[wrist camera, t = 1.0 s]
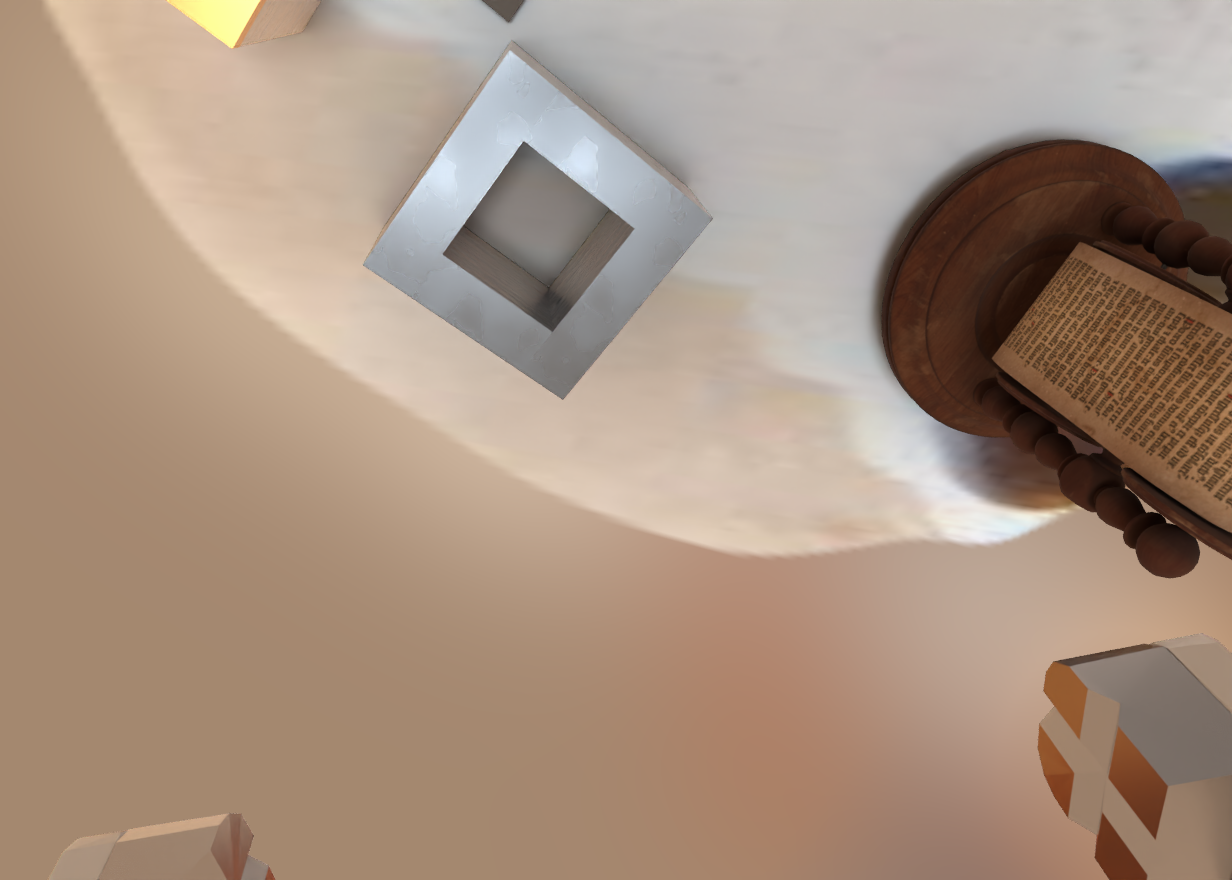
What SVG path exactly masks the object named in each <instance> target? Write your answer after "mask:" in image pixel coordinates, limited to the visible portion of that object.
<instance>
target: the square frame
mask: <svg viewBox="0 0 1232 880" xmlns="http://www.w3.org/2000/svg"><path fill="white" fill-rule="evenodd" d="M523 141H524V142H526V143H527V144H528V145H529V146H531V147H532V148H533V149H535V150H536V151H537V152H538V153H540V154H541V155H542V156H543V157H545V158H546V159H547V160H548V161H550V162H551V163H552V164H554V165H555V166H556V167H557V168H559V169H560V170H561V171H562V172H564V173H565V174H566V175H567V176H569V177H570V178H571V179H573V180H574V181H575V182H576V183H578V184H579V185H580V186H581V187H583V188H584V189H585V190H586V191H588V192H589V193H590V194H592V195H593V196H594V197H595V198H597V199H598V200H599V201H600V202H602V203H603V204H604V205H605V206H607V207H608V208H609V209H610V210H609V211H608V213H607V214H606V215H605V216H604V218H603V219H602V220H601V222H600V223H599V224H598V225H597V227H596V228H595V229H594V231H593V232H592V233H591V234H590V236H589V237H588V238H587V240H586V241H585V242H584V243H583V245H582V246H581V247H580V249H579V250H578V251H577V252H576V254H575V255H574V256H573V258H572V259H571V260H570V261H569V263H568V264H567V265H566V267H565V268H564V269H563V270H562V272H561V273H560V274H559V276H558V277H557V278H556V279H555V281H554V282H553V283H552V285H551V286H550V287H549V288H548V287H547V286H545V285H544V284H543V283H541V282H540V281H538V280H537V279H536V278H534V277H533V276H532V275H530V274H529V273H527V272H526V271H525V270H523V269H522V268H520V267H519V266H518V265H516V264H515V263H514V262H512V261H511V260H509V259H508V258H507V257H505V256H504V255H503V254H501V253H500V252H498V251H497V250H496V249H494V248H493V247H492V246H490V245H489V244H487V243H486V242H485V241H483V240H482V239H481V238H479V237H478V236H476V235H475V234H474V233H472V232H471V231H469V230H468V229H467V228H465V227H464V226H463V225H464V223H465V222H466V221H467V219H468V218H469V216H470V215H471V214H472V212H473V211H474V209H475V208H476V207H477V205H478V204H479V202H480V201H481V200H482V198H483V197H484V196H485V194H486V193H487V191H488V190H489V189H490V187H491V186H492V184H493V183H494V182H495V180H496V179H497V177H498V176H499V175H500V173H501V172H502V170H503V169H504V168H505V166H506V165H507V164H508V162H509V161H510V159H511V158H512V157H513V155H514V154H515V152H516V151H517V150H518V148H519V147H520V145H521V144H522V143H523ZM712 219H713V218H712V217H711V215H710V214H709V213H708V212H707V210H706V209H705V208H704V207H703V205H702V204H701V203H700V202H699V200H698V199H697V198H696V197H695V195H694V194H693V193H692V192H691V190H690V189H689V188H688V187H687V186H686V185H685V184H683V183H682V182H681V181H680V180H679V179H677V178H676V177H675V176H674V175H673V174H671V173H670V172H669V171H668V170H667V169H665V168H664V167H663V166H662V165H661V164H659V163H658V162H657V161H656V160H655V159H653V158H652V157H651V156H650V155H649V154H647V153H646V152H645V151H644V150H643V149H641V148H640V147H639V146H638V145H637V144H635V143H634V142H633V141H632V140H631V139H629V138H628V137H627V136H626V135H625V134H623V133H622V132H621V131H620V130H619V129H617V128H616V127H615V126H614V125H613V124H611V123H610V122H609V121H608V120H607V119H605V118H604V117H603V116H602V115H601V114H600V113H598V112H597V111H596V110H595V109H594V108H592V107H591V106H590V105H589V104H588V103H586V102H585V101H584V100H583V99H582V98H580V97H579V96H578V95H577V94H576V93H574V92H573V91H572V90H571V89H570V88H568V87H567V86H566V85H565V84H564V83H562V82H561V81H560V80H559V79H558V78H556V77H555V76H554V75H553V74H552V73H550V72H549V71H548V70H547V69H546V68H544V67H543V66H542V65H541V64H540V63H538V62H537V61H536V60H535V59H534V58H532V57H531V56H530V55H529V54H528V53H526V52H525V51H524V50H523V49H522V48H520V47H519V46H518V45H517V44H516V43H514V42H513V41H512V40H511V42H510V43H509V45H508V46H507V48H506V49H505V50H504V52H503V53H502V55H501V56H500V58H499V59H498V61H497V62H496V64H495V65H494V67H493V68H492V70H491V71H490V72H489V74H488V75H487V77H486V78H485V80H484V81H483V83H482V84H481V86H480V87H479V89H478V90H477V91H476V93H475V94H474V96H473V97H472V99H471V100H470V102H469V103H468V105H467V106H466V108H465V109H464V110H463V112H462V113H461V115H460V116H459V118H458V119H457V121H456V122H455V124H454V125H453V127H452V128H451V129H450V131H449V132H448V134H447V135H446V137H445V138H444V140H443V141H442V143H441V144H440V146H439V147H438V149H437V150H436V151H435V153H434V154H433V156H432V157H431V159H430V160H429V162H428V163H427V165H426V166H425V168H424V169H423V170H422V172H421V173H420V175H419V176H418V178H417V179H416V181H415V182H414V184H413V185H412V187H411V188H410V189H409V191H408V192H407V194H406V195H405V197H404V198H403V200H402V201H401V203H400V204H399V206H398V207H397V209H396V210H395V211H394V213H393V214H392V216H391V217H390V219H389V220H388V222H387V223H386V225H385V226H384V228H383V229H382V231H381V233H380V235H379V237H378V238H377V240H376V242H375V244H374V245H373V247H372V249H371V251H370V253H369V254H368V256H367V258H366V260H365V262H364V263H363V265H364V266H365V267H367V268H368V269H370V270H371V271H372V272H374V273H375V274H377V275H378V276H380V277H381V278H383V279H384V280H386V281H387V282H389V283H390V284H392V285H393V286H395V287H396V288H398V289H399V290H401V291H402V292H404V293H405V294H407V295H408V296H410V297H411V298H413V299H414V300H416V301H417V302H419V303H420V304H421V305H423V306H424V307H426V308H427V309H429V310H430V311H432V312H433V313H435V314H436V315H438V316H439V317H441V318H442V319H444V320H445V321H447V322H448V323H450V324H451V325H453V326H454V327H456V328H457V329H459V330H460V331H462V332H463V333H465V334H466V335H468V336H469V337H470V338H472V339H473V340H475V341H476V342H478V343H479V344H481V345H482V346H484V347H485V348H487V349H488V350H490V351H491V352H493V353H494V354H496V355H497V356H499V357H500V358H502V359H503V360H505V361H506V362H508V363H509V364H511V365H512V366H514V367H515V368H517V369H518V370H520V371H521V372H522V373H524V374H525V375H527V376H528V377H530V378H531V379H533V380H534V381H536V382H537V383H539V384H540V385H542V386H543V387H545V388H546V389H548V390H549V391H551V392H552V393H554V394H555V395H557V396H558V397H560V398H561V399H564V398H565V397H566V395H567V394H568V393H569V392H570V391H571V389H572V388H573V387H574V386H575V385H576V383H577V382H578V381H579V380H580V378H581V377H582V376H583V375H584V374H585V372H586V371H587V370H588V369H589V368H590V366H591V365H592V364H593V363H594V362H595V360H596V359H597V358H598V357H599V356H600V354H601V353H602V352H603V351H604V349H605V348H606V347H607V346H608V345H609V343H610V342H611V341H612V340H613V339H614V337H615V336H616V335H617V334H618V333H619V331H620V330H621V329H622V328H623V326H624V325H625V324H626V323H627V322H628V320H629V319H630V318H631V317H632V316H633V314H634V313H635V312H636V311H637V310H638V308H639V307H640V306H641V305H642V303H643V302H644V301H645V300H646V299H647V297H648V296H649V295H650V294H651V293H652V291H653V290H654V289H655V288H656V287H657V285H658V284H659V283H660V282H661V280H662V279H663V278H664V277H665V276H666V274H667V273H668V272H669V271H670V270H671V268H672V267H673V266H674V265H675V264H676V262H677V261H678V260H679V259H680V258H681V256H682V255H683V254H684V253H685V251H686V250H687V249H688V248H689V247H690V245H691V244H692V243H693V242H694V241H695V239H696V238H697V237H698V236H699V235H700V233H701V232H702V231H703V230H704V228H705V227H706V226H707V225H708V224H709V222H710V221H711V220H712Z"/></svg>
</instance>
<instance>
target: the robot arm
mask: <svg viewBox="0 0 1232 880" xmlns="http://www.w3.org/2000/svg"><path fill="white" fill-rule="evenodd" d="M1043 691H1044V692H1045V694H1046V695H1047V697H1048V698H1049V699H1050V701H1051V702H1052V703H1053V705H1054V707H1053V709H1052V710H1051V711H1050V712H1049V713H1048V714H1047V715H1046V716H1045V718H1044V719H1043V720H1042V721H1041V722H1040V723H1039V736H1038V751H1039V756H1040V760H1041V764H1042V768H1043V773H1044V776H1045V778H1046V780H1047V783H1048V785H1049V787H1050V789H1051V791H1052V793H1053V795H1054V797H1055V799H1056V800H1057V802H1058V803H1059V805H1060V806H1061V808H1062V810H1063V811H1064V813H1065V814H1066V816H1067V817H1068V818H1069V819H1070V820H1072V821H1074V822H1075V823H1077V824H1079V825H1081V826H1082V827H1084V828H1086V829H1088V830H1089V831H1091V832H1092V833H1094V834H1096V835H1097V838H1096V849H1095V859H1096V861H1097V862H1098V863H1099V865H1100V867H1101V868H1102V869H1103V871H1104V873H1105V874H1106V875H1107V877H1108V879H1109V880H1232V653H1231V652H1230V651H1229V650H1228V649H1227V648H1226V647H1225V646H1223V645H1222V644H1221V643H1220V642H1219V641H1218V640H1216V639H1214V638H1212V637H1210V636H1207V635H1205V634H1203V633H1201V634H1196V635H1190V636H1185V637H1180V638H1175V639H1169V640H1164V641H1159V642H1153V643H1151V644H1149V645H1148V644H1141V645H1136V646H1131V647H1126V648H1121V649H1115V650H1110V651H1105V652H1100V653H1095V654H1090V655H1085V656H1080V657H1075V658H1069V659H1064V660H1059V661H1054V662H1053V663H1052V664H1051V666H1050V667H1049V668H1048V670H1047V671H1046V675H1045V683H1044V690H1043ZM253 837H254V835H253V833H252V832H251V830H250V828H249V826H248V825H247V823H246V821H245V820H244V818H243V816H242V814H234V813H233V814H231V813H229V814H222V815H216V816H209V817H203V818H196V819H190V820H184V821H177V822H171V823H164V824H159V825H152V826H145V827H139V828H132V829H129V830H125V831H119V832H112V833H106V834H100V835H93V836H87V837H81V838H78V839H76V840H75V841H74V842H73V843H72V844H71V845H70V846H69V847H67V848H66V849H65V850H64V851H63V852H62V854H61V855H60V857H59V859H58V861H57V863H56V865H55V866H54V868H53V870H52V872H51V874H50V876H49V878H48V880H275V878H274V876H273V873H272V871H271V869H270V867H269V866H268V865H266V864H265V863H263V862H261V861H259V860H257V859H255V858H253V857H251V856H249V855H248V854H249V851H250V847H251V844H252V840H253Z"/></svg>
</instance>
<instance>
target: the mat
mask: <svg viewBox="0 0 1232 880" xmlns="http://www.w3.org/2000/svg"><path fill="white" fill-rule="evenodd" d="M483 1H484V2H485V3H486V4H487V5H489V6H490V7H491V8H492V9H493V10H495V11H496V12H497V13H498V14H499V15H501V16H502V17H503V18H504V19H505V20H506V21H508V22H509V21H510V20H511V18H512V17H513V15H514V14H515V12H516V11H517V9H518V8H519V6H520V5H521V3H522V2H523V0H483Z"/></svg>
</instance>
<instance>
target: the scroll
mask: <svg viewBox="0 0 1232 880" xmlns="http://www.w3.org/2000/svg"><path fill="white" fill-rule="evenodd" d="M1189 267H1190V268H1191V269H1192V270H1193V271H1194V272H1195V273H1198V274H1201V275H1204V276H1221V280H1222V282H1223V283H1224V284H1225V285H1226V287H1227V290H1226V291H1225V293H1226V295H1227V297H1228V299H1229V301H1228V302H1226V303H1224V304H1221V303H1220V302H1219V301H1217V300H1216V299H1215V298H1213V297H1211V296H1210V295H1208V294H1207V293H1205V292H1203V291H1202V290H1200V289H1198V288H1197V287H1195V286H1193V285H1191V284H1190V283H1188V282H1186V281H1187V274H1188V268H1189ZM882 337H883V343H884V347H885V351H886V355H887V358H888V361H889V364H890V366H891V369H892V371H893V373H894V375H895V377H896V379H897V380H898V382H899V383H900V385H901V386H902V388H903V389H904V390H905V391H906V392H907V394H908V395H909V396H910V397H911V398H912V399H913V400H914V401H915V402H916V403H917V404H918V405H919V406H920V407H921V408H922V409H923V410H924V411H925V412H926V413H927V414H929V415H930V416H932V417H933V418H934V419H936V420H937V421H939V422H941V423H943V424H945V425H946V426H948V427H951V428H953V429H956V430H958V431H961V432H965V433H968V434H972V435H978V436H984V437H1011V439H1012V441H1013V444H1014V445H1015V446H1016V447H1017V448H1018V449H1019V450H1021V451H1022V452H1024V453H1028V454H1035V455H1036V458H1037V460H1038V461H1039V462H1040V463H1041V464H1043V465H1044V466H1046V467H1048V468H1051V469H1054V470H1057V471H1058V473H1057V475H1058V478H1059V480H1060V482H1059V485H1060V489H1061V492H1062V493H1063V494H1064V495H1065V496H1066V497H1067V498H1069V499H1070V500H1071V501H1073V502H1074V503H1075V504H1077V505H1079V506H1080V507H1082V508H1084V509H1086V510H1087V511H1090V512H1097V515H1098V516H1099V518H1100V519H1101V520H1103V521H1104V522H1105V523H1106V524H1108V525H1110V526H1112V527H1115V528H1117V529H1120V530H1122V531H1124V534H1123V539H1124V541H1125V544H1126V545H1128V546H1129V547H1130V548H1133V549H1136V554H1137V557H1138V560H1139V562H1140V564H1141V565H1142V566H1143V567H1144V568H1145V569H1146V570H1148V571H1149V572H1151V573H1152V574H1154V575H1156V576H1160V577H1165V578H1176V577H1181V576H1183V575H1185V574H1187V573H1189V572H1190V571H1192V570H1193V569H1194V567H1195V566H1196V564H1197V563H1198V560H1199V556H1200V550H1199V546H1198V542H1197V540H1196V539H1198V540H1200V541H1201V542H1203V543H1204V544H1206V545H1208V546H1209V547H1211V548H1212V549H1214V550H1216V551H1217V552H1219V553H1221V554H1223V555H1224V556H1226V557H1228V558H1229V559H1231V560H1232V245H1231V244H1230V243H1229V241H1227V240H1226V239H1224V238H1220V237H1217V236H1210V237H1209V233H1208V232H1207V230H1206V229H1205V228H1204V227H1203V226H1202V225H1201V224H1199V223H1197V222H1193V221H1190V220H1185V219H1184V215H1183V212H1182V209H1181V207H1180V205H1179V202H1178V200H1177V198H1176V197H1175V195H1174V193H1173V192H1172V190H1171V188H1170V187H1169V186H1168V185H1167V183H1166V182H1165V181H1164V179H1163V178H1162V177H1161V176H1160V175H1159V174H1158V173H1157V172H1156V171H1155V170H1154V169H1152V168H1151V167H1150V166H1148V165H1147V164H1146V163H1144V162H1143V161H1142V160H1140V159H1138V158H1136V157H1134V156H1133V155H1131V154H1128V153H1126V152H1123V151H1121V150H1118V149H1115V148H1111V147H1108V146H1105V145H1101V144H1098V143H1094V142H1089V141H1081V140H1050V141H1042V142H1037V143H1032V144H1028V145H1024V146H1021V147H1017V148H1014V149H1011V150H1005V151H1003V152H1001V153H1000V154H998V155H997V156H995V157H993V158H991V159H989V160H987V161H985V162H983V163H981V164H980V165H978V166H976V167H975V168H973V169H971V170H970V171H968V172H967V173H966V174H964V175H963V176H961V177H960V178H959V179H957V180H956V181H955V182H954V183H952V184H951V185H950V186H949V187H948V188H947V189H945V190H944V191H943V192H942V193H941V194H940V195H939V196H938V197H937V198H936V199H935V200H934V201H933V202H932V203H931V204H930V205H929V207H928V208H927V209H926V210H925V211H924V213H923V214H922V215H921V216H920V217H919V219H918V220H917V222H916V223H915V224H914V226H913V227H912V229H911V230H910V232H909V233H908V235H907V237H906V238H905V240H904V242H903V244H902V245H901V247H900V250H899V252H898V254H897V256H896V258H895V260H894V263H893V265H892V268H891V271H890V273H889V277H888V280H887V284H886V288H885V293H884V298H883V306H882ZM1058 426H1059V427H1061V428H1062V429H1064V430H1066V431H1067V432H1069V433H1071V434H1073V435H1075V436H1077V437H1078V438H1080V439H1082V440H1084V441H1086V442H1088V443H1091V444H1093V445H1095V446H1098V447H1102V448H1103V452H1102V453H1101V454H1097V453H1092V454H1091V455H1090V456H1088V455H1086V454H1082V453H1079V454H1077V453H1076V450H1075V448H1074V446H1073V444H1072V442H1071V441H1070V440H1069V439H1068V438H1067V437H1066V436H1064V435H1062V434H1058V429H1057V427H1058ZM1124 463H1125V464H1126V465H1128V466H1129V467H1130V468H1123V469H1122V468H1121V465H1122V464H1124ZM1131 468H1132V469H1131ZM1125 484H1126V485H1127V486H1128V488H1129V489H1130V490H1131V491H1133V492H1134V493H1135V494H1136V495H1137V496H1138V497H1139V498H1141V499H1142V500H1143V501H1144V502H1145V503H1147V504H1148V505H1149V506H1151V507H1152V508H1153V509H1155V510H1156V511H1157V512H1159V513H1160V514H1159V513H1154V512H1148V513H1146V512H1145V510H1144V508H1143V506H1142V504H1141V502H1140V501H1139V499H1138V497H1137V496H1136V495H1135V494H1134V493H1132V492H1131V491H1130V490H1128V489H1125ZM1162 515H1163V516H1164V517H1166V518H1167V519H1168V520H1170V521H1171V522H1172V523H1174V524H1175V525H1173V524H1169V523H1166V520H1165V518H1164V517H1163V516H1162Z"/></svg>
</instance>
